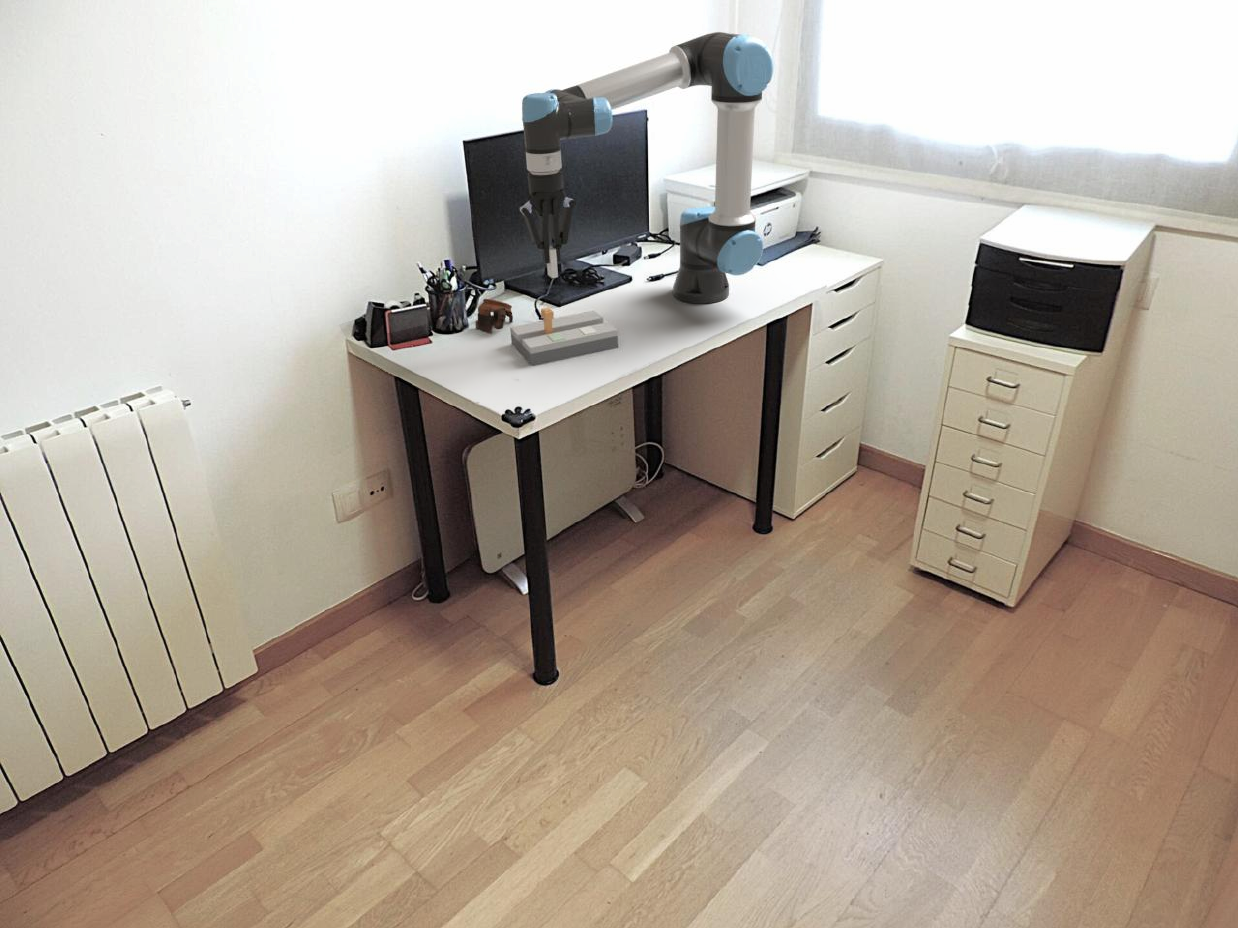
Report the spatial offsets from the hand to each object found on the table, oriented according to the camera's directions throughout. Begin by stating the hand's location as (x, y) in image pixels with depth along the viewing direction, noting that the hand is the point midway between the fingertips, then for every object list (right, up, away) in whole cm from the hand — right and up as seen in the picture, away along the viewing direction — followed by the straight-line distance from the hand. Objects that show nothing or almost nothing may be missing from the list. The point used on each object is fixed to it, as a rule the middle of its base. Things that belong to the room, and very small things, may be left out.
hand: (552, 275), depth 205 cm
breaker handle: (-2, -13, +7) cm, 15 cm away
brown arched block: (-16, -9, +21) cm, 28 cm away
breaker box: (+2, -15, +10) cm, 18 cm away
